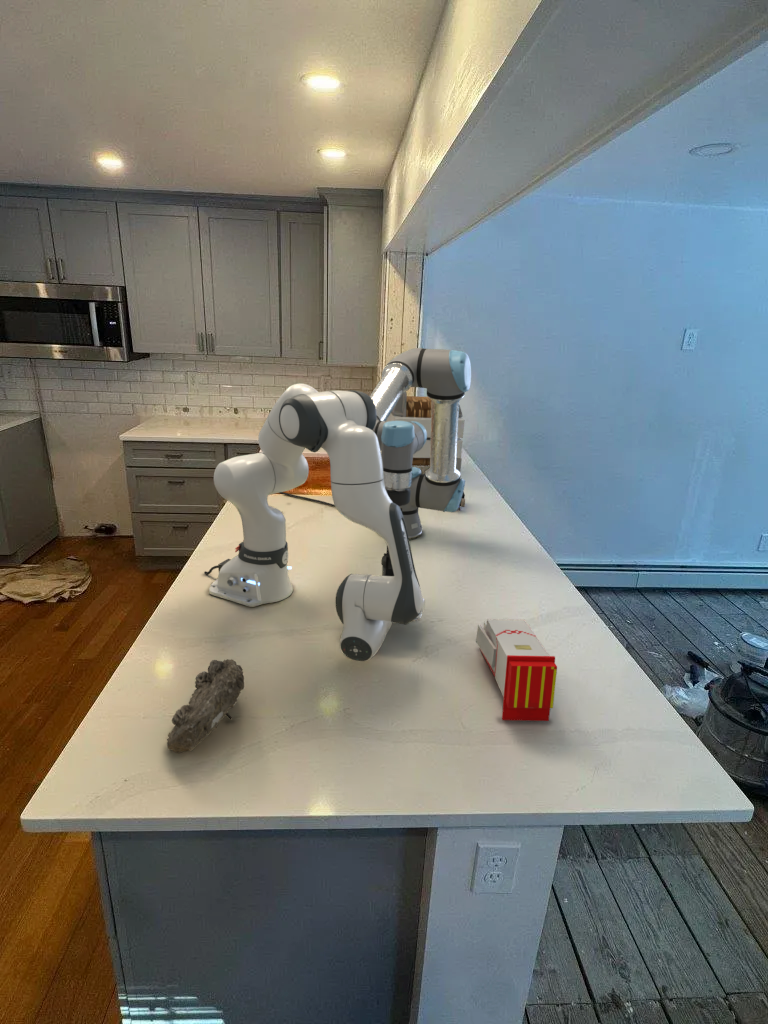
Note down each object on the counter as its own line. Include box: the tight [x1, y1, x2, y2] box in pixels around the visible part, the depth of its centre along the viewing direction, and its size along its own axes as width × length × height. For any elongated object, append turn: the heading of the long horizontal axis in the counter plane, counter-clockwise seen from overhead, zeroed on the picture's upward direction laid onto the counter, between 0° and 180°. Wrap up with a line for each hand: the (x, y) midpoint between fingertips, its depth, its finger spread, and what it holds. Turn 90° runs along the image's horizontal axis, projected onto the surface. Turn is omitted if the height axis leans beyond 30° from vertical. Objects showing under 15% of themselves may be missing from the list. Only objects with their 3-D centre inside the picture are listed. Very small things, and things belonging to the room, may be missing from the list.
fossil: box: [166, 658, 245, 754], centre depth 106 cm, size 22×10×15 cm
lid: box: [380, 555, 386, 567], centre depth 143 cm, size 5×5×2 cm
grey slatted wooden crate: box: [386, 391, 465, 475], centre depth 268 cm, size 34×33×41 cm
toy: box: [475, 618, 558, 722], centre depth 122 cm, size 12×13×30 cm
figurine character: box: [457, 490, 466, 511], centre depth 229 cm, size 7×8×15 cm
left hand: (390, 588), depth 147 cm, fingers closed on jar, 4 cm apart
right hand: (390, 573), depth 144 cm, fingers closed on lid, 5 cm apart
